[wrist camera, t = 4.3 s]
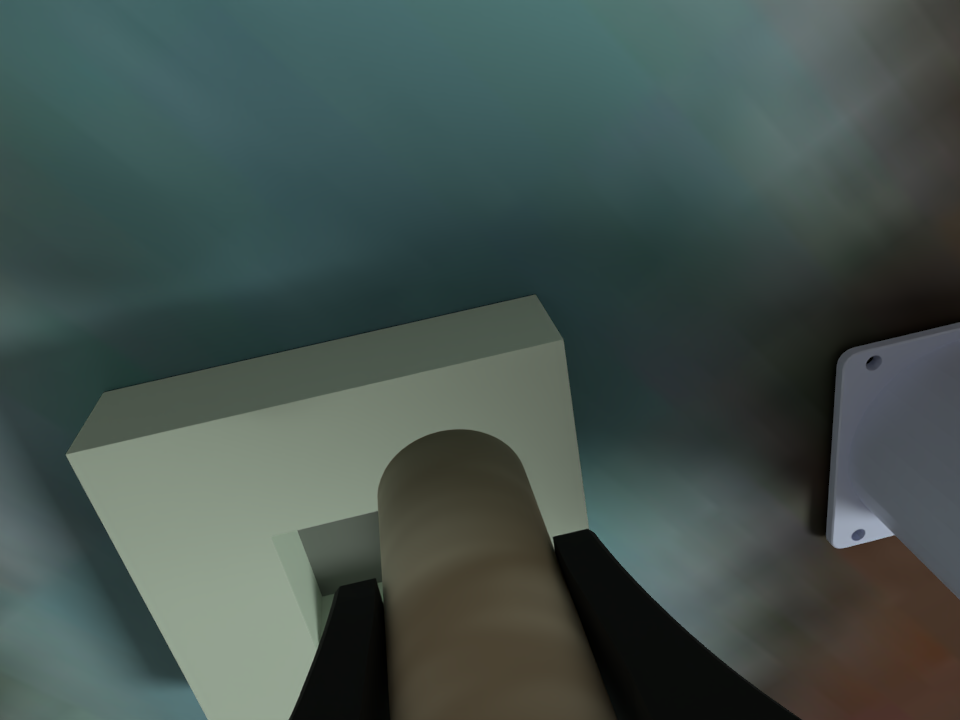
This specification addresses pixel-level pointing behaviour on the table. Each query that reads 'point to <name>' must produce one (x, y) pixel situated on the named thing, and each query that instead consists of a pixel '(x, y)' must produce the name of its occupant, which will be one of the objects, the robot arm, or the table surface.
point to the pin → (477, 591)
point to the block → (307, 480)
